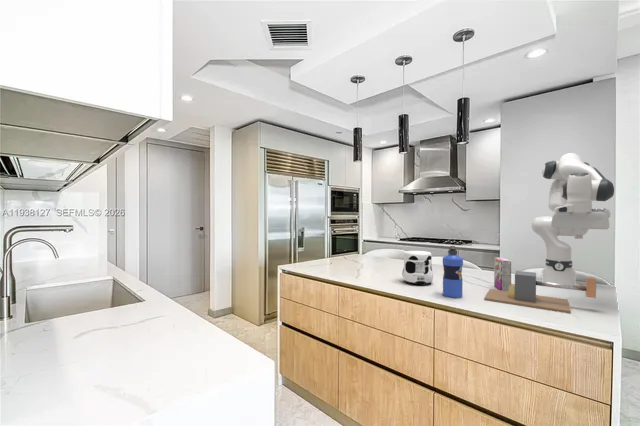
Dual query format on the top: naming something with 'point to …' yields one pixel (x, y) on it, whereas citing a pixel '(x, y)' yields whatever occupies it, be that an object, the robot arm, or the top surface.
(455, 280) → the water bottle
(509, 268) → the candy bar box
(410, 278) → the milk container
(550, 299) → the bearing stand
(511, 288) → the spacer
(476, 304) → the top surface
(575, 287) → the shaft
